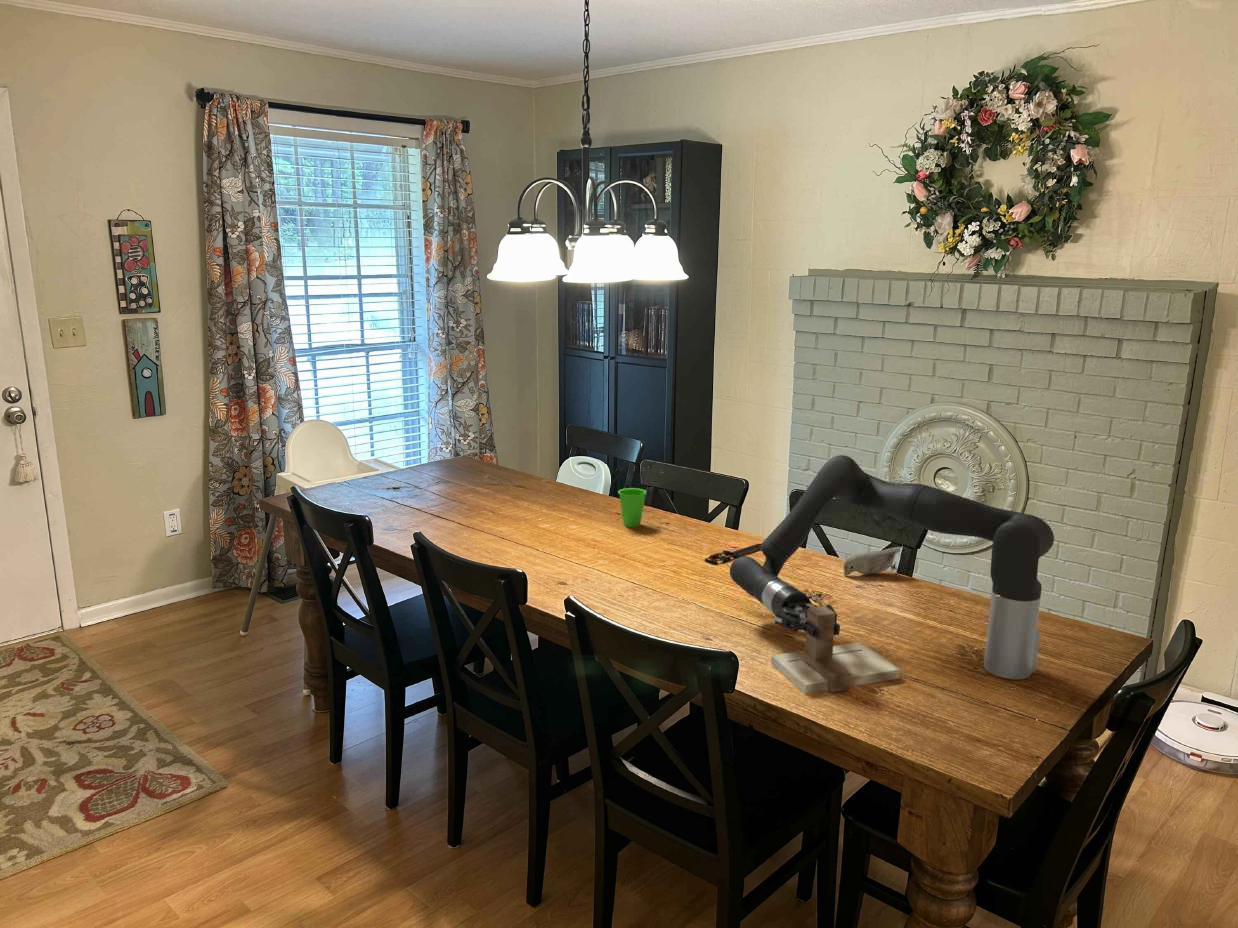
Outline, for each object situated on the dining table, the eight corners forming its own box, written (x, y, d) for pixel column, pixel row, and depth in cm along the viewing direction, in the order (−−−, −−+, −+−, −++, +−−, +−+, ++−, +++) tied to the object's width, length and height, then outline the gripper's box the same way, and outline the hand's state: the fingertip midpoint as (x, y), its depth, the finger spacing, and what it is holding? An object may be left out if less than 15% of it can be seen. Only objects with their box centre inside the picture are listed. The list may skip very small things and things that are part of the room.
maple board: (859, 650, 200) (860, 641, 200) (898, 678, 187) (899, 669, 187) (770, 664, 193) (771, 655, 192) (805, 694, 180) (805, 684, 180)
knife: (762, 544, 272) (762, 540, 272) (778, 550, 267) (778, 546, 267) (699, 560, 258) (699, 556, 257) (714, 567, 253) (715, 562, 252)
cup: (652, 525, 289) (652, 491, 286) (632, 531, 282) (633, 497, 280) (631, 519, 295) (631, 486, 292) (611, 525, 288) (612, 491, 286)
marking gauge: (816, 662, 193) (820, 602, 190) (849, 688, 181) (854, 626, 178) (799, 664, 191) (803, 605, 188) (832, 691, 180) (836, 628, 177)
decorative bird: (839, 573, 248) (841, 546, 246) (893, 569, 251) (896, 543, 249) (847, 579, 243) (849, 553, 241) (903, 576, 246) (905, 550, 244)
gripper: (757, 589, 196) (798, 619, 181) (814, 581, 201) (859, 610, 185) (755, 621, 198) (795, 654, 182) (812, 613, 203) (856, 644, 187)
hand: (827, 631), depth 184 cm, fingers closed on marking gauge, 4 cm apart
